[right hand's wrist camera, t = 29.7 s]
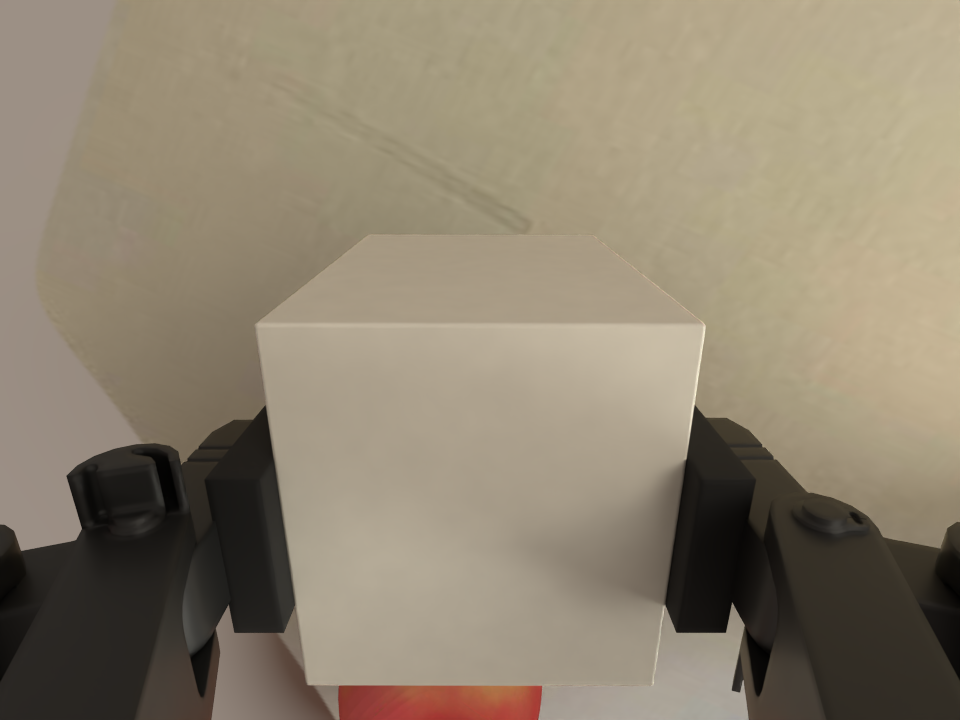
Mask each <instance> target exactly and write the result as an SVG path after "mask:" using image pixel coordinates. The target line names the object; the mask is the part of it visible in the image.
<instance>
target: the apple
mask: <svg viewBox="0 0 960 720" xmlns="http://www.w3.org/2000/svg"><path fill="white" fill-rule="evenodd" d="M541 695H542V686H409V685H339V694H338V701H339V717H340V720H538V717H539V712H540V705H541Z"/></svg>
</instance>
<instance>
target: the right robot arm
mask: <svg viewBox="0 0 960 720" xmlns="http://www.w3.org/2000/svg"><path fill="white" fill-rule="evenodd" d="M67 479H68V483H69V486H70V490H71V493H72V496H73V500H74V503H75V506H76V509H77V513H78V517H79V520H80V523H81V527H82V530H81V532H80V534H79V536H78V538H77V540H75V541H71V542H67V543H62V544H56V545H51V546H46V547H40V548H35V549H30V550H25V551H21V550H20V547H19V544H18V541H17V538H16V535H15V533H14V531H13V530H12V529H10V528H9V527H7V526H6V525H0V720H211V717H212V710H213V702H214V695H215V687H216V680H217V672H218V665H219V657H220V649H219V642H218V637H217V632H216V626H217V625H218V623H219V621H220V619H221V617H222V615H223V614H224V612H225V610H226V608H227V606H228V605H229V608H230V613H231V618H232V623H233V628H234V632H235V633H284V631H285V629H286V626H287V624H288V621H289V619H290V616H291V614H292V611H293V609H294V606H295V602H294V595H293V588H292V581H291V575H290V568H289V561H288V554H287V547H286V540H285V533H284V526H283V520H282V513H281V506H280V499H279V492H278V485H277V478H276V471H275V464H274V457H273V451H272V444H271V437H270V430H269V423H268V416H267V409H266V405H265V406H264V408H263V409H262V410H261V411H260V412H259V414H258V415H257V416H256V417H255V419H254V420H233V421H231V422H230V423H228V424H226V425H224V426H222V427H221V428H219V429H217V430H215V431H213V432H212V433H211V434H210V435H209V436H208V437H207V438H206V439H205V440H204V442H203V443H202V444H201V445H200V446H199V450H195V451H194V452H193V453H192V454H191V455H190V457H189V458H188V461H187V462H184V463H183V464H182V465H181V463H180V458H179V453H178V451H176V450H175V449H173V448H172V447H170V446H167V445H161V444H155V443H154V444H136V445H131V446H126V447H121V448H116V449H113V450H110V451H107V452H104V453H102V454H99V455H96V456H94V457H92V458H90V459H88V460H86V461H85V462H83V463H81V464H79V465H77V466H76V467H75V468H74V469H73V470H72V471H71V472H70V473H69V474H68V475H67ZM732 603H733V604H734V606H735V608H736V610H737V612H738V614H739V615H740V617H741V619H742V621H743V623H744V624H745V627H744V632H743V637H742V641H741V646H740V651H739V656H738V660H737V665H736V670H735V674H734V679H733V686H732V691H736V692H740V690H741V685H742V681H743V680H744V686H745V693H746V701H747V708H748V716H749V720H960V522H957V523H955V524H953V525H952V526H950V527H949V528H947V531H946V534H945V537H944V540H943V543H942V546H941V549H939V548H934V547H929V546H923V545H918V544H913V543H908V542H902V541H897V540H892V539H888V538H884V537H882V535H881V533H880V531H879V529H878V528H877V527H876V525H875V524H874V523H873V522H872V521H871V520H870V518H869V517H868V516H866V515H865V514H863V513H862V512H860V511H859V510H857V509H856V508H854V507H853V506H851V505H848V504H846V503H843V502H841V501H839V500H836V499H834V498H831V497H827V496H822V495H818V494H814V493H807V492H806V491H805V490H804V489H803V488H802V486H801V485H800V484H799V483H798V482H797V481H796V480H795V479H794V478H793V477H792V476H791V475H790V474H789V473H788V472H787V471H786V469H785V468H784V467H783V466H782V465H781V464H780V463H779V462H778V461H777V460H774V459H773V456H772V455H771V454H770V452H769V451H768V450H767V449H766V448H762V444H761V443H760V442H759V441H758V440H757V439H756V438H755V436H754V435H753V434H752V433H751V432H750V431H749V430H747V429H745V428H744V427H742V426H740V425H738V424H736V423H735V422H733V421H731V420H729V419H727V418H705V417H704V416H703V414H702V413H701V412H700V411H699V409H698V408H697V407H696V406H695V405H694V411H693V418H692V425H691V432H690V438H689V445H688V452H687V459H686V466H685V472H684V479H683V486H682V493H681V500H680V506H679V513H678V520H677V527H676V534H675V540H674V547H673V554H672V561H671V568H670V574H669V581H668V588H667V595H666V602H665V605H666V608H667V610H668V613H669V615H670V618H671V620H672V623H673V625H674V628H675V630H676V633H726V630H727V625H728V620H729V615H730V610H731V605H732Z"/></svg>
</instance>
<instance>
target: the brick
mask: <svg viewBox="0 0 960 720" xmlns="http://www.w3.org/2000/svg"><path fill="white" fill-rule="evenodd" d="M705 330H706V326H705V324H704V323H703V322H702V321H701V320H699V319H698V318H697V317H696V316H694V315H693V314H692V313H690V312H689V311H688V310H687V309H685V308H684V307H683V306H682V305H680V304H679V303H678V302H677V301H675V300H674V299H673V298H672V297H670V296H669V295H668V294H667V293H665V292H664V291H663V290H662V289H660V288H659V287H658V286H657V285H655V284H654V283H653V282H652V281H650V280H649V279H648V278H647V277H645V276H644V275H643V274H642V273H640V272H639V271H638V270H636V269H635V268H634V267H633V266H631V265H630V264H629V263H628V262H626V261H625V260H624V259H623V258H621V257H620V256H619V255H618V254H616V253H615V252H614V251H613V250H611V249H610V248H609V247H608V246H606V245H605V244H604V243H603V242H601V241H600V240H599V239H598V238H596V237H595V236H594V235H453V234H369V235H367V236H366V237H364V238H363V239H362V240H361V241H359V242H358V243H357V244H355V245H354V246H353V247H352V248H350V249H349V250H348V251H347V252H345V253H344V254H343V255H342V256H340V257H339V258H338V259H336V260H335V261H334V262H333V263H331V264H330V265H329V266H328V267H326V268H325V269H324V270H323V271H321V272H320V273H319V274H317V275H316V276H315V277H314V278H312V279H311V280H310V281H309V282H307V283H306V284H305V285H304V286H302V287H301V288H300V289H298V290H297V291H296V292H295V293H293V294H292V295H291V296H290V297H288V298H287V299H286V300H284V301H283V302H282V303H281V304H279V305H278V306H277V307H276V308H274V309H273V310H272V311H271V312H269V313H268V314H267V315H265V316H264V317H263V318H262V319H260V320H259V321H258V322H257V323H256V324H255V333H256V340H257V347H258V354H259V361H260V368H261V374H262V381H263V388H264V395H265V402H266V409H267V416H268V423H269V430H270V437H271V444H272V451H273V457H274V464H275V471H276V478H277V485H278V492H279V499H280V506H281V513H282V520H283V526H284V533H285V540H286V547H287V554H288V561H289V568H290V575H291V581H292V588H293V595H294V602H295V610H296V616H297V623H298V630H299V637H300V644H301V651H302V658H303V665H304V672H305V679H306V684H307V685H409V686H651V685H653V683H654V676H655V670H656V663H657V656H658V649H659V642H660V636H661V629H662V622H663V615H664V608H665V602H666V595H667V588H668V581H669V574H670V568H671V561H672V554H673V547H674V540H675V534H676V527H677V520H678V513H679V506H680V500H681V493H682V486H683V479H684V472H685V466H686V459H687V452H688V445H689V438H690V432H691V425H692V418H693V411H694V404H695V398H696V391H697V384H698V377H699V370H700V364H701V357H702V350H703V343H704V336H705Z"/></svg>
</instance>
